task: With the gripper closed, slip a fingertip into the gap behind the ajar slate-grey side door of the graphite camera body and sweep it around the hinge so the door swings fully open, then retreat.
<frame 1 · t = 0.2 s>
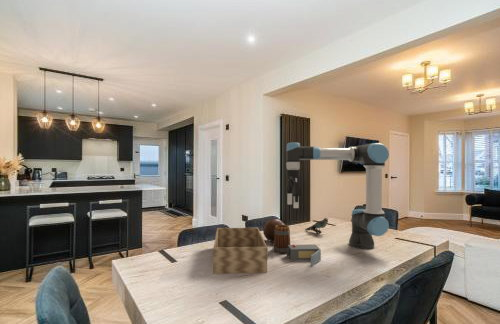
hand: (292, 206, 151), 28 cm above the table, fingers open, 13 cm apart
mug: (282, 250, 159), on the table
camera body: (303, 257, 146), on the table
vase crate: (238, 258, 144), on the table
coconut: (274, 242, 176), on the table
bird figurine: (316, 233, 198), on the table
side door: (315, 257, 137), point 3 cm above the table, hinge at 50.0°
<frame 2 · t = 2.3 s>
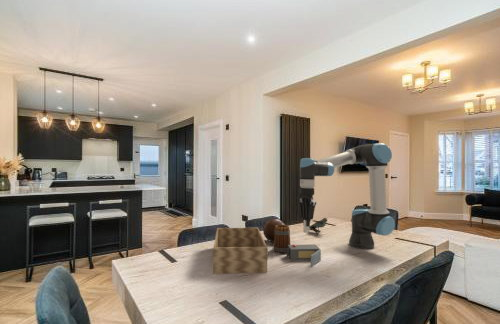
hand: (306, 232, 138), 16 cm above the table, fingers closed
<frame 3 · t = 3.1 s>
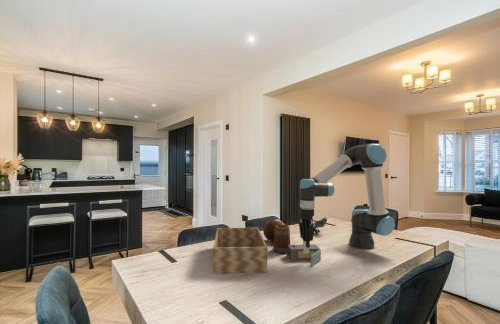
hand: (306, 253, 138), 5 cm above the table, fingers closed
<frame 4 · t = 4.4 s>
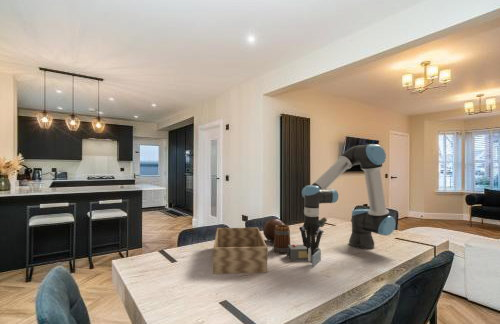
hand: (310, 260, 136), 2 cm above the table, fingers closed
side door: (316, 257, 137), point 3 cm above the table, hinge at 53.7°, touching gripper
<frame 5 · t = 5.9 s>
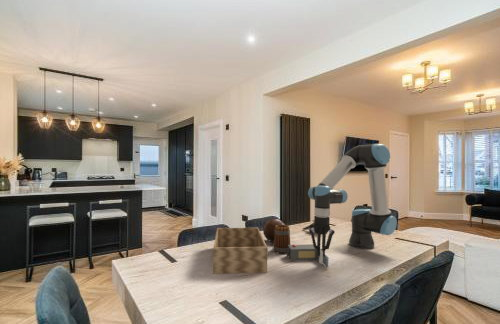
hand: (320, 262, 133), 2 cm above the table, fingers closed
side door: (323, 258, 136), point 3 cm above the table, hinge at 90.3°, touching gripper
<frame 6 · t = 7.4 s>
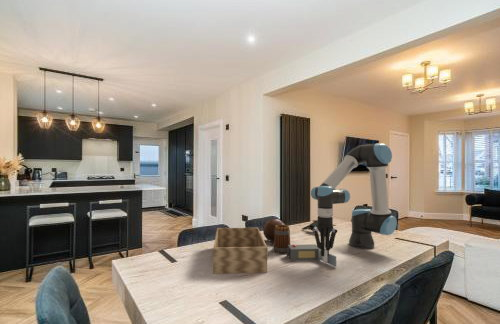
hand: (324, 262, 135), 2 cm above the table, fingers closed
side door: (327, 257, 137), point 3 cm above the table, hinge at 114.0°
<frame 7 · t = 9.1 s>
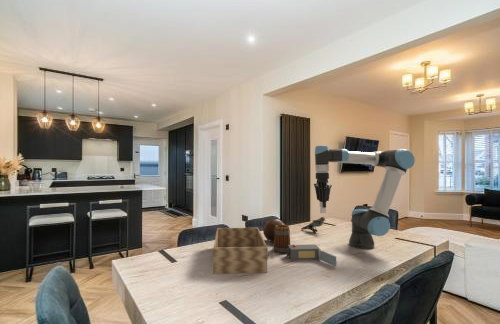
hand: (323, 212, 152), 24 cm above the table, fingers closed
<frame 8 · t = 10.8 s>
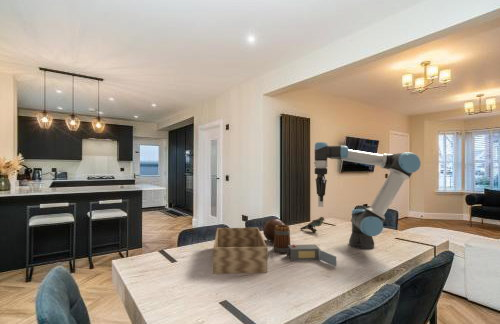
hand: (320, 206, 159), 26 cm above the table, fingers closed
at the end: side door at +114° (first picture: +50°); side door touching nothing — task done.
